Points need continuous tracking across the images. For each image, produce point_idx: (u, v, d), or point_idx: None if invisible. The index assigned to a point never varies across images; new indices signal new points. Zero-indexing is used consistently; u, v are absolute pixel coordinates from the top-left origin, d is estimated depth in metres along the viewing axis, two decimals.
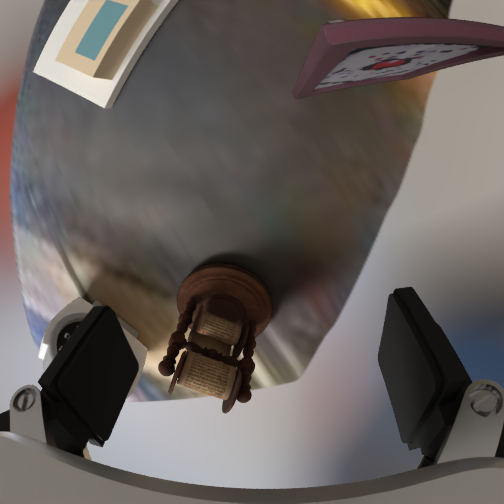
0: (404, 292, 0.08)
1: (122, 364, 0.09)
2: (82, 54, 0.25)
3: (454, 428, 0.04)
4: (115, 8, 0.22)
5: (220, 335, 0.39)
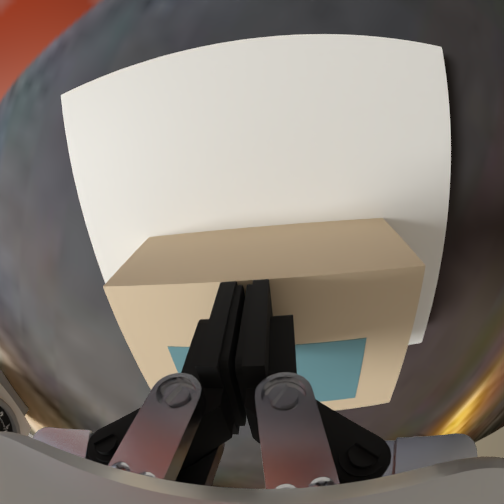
0: (256, 283, 0.09)
1: None
2: (180, 371, 0.12)
3: (262, 435, 0.05)
4: (341, 376, 0.12)
5: None
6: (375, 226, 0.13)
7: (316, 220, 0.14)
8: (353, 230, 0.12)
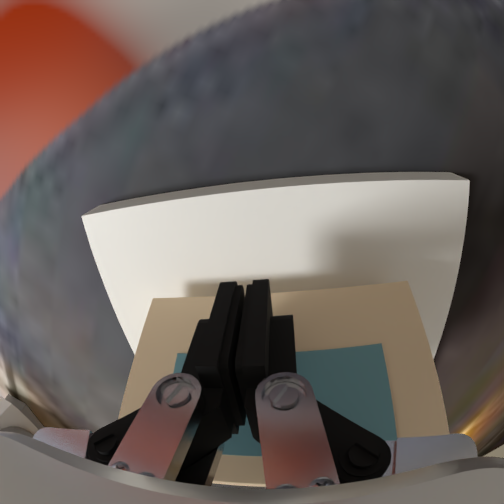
0: (256, 283, 0.09)
1: None
2: None
3: (262, 435, 0.05)
4: (368, 402, 0.08)
5: None
6: None
7: None
8: None
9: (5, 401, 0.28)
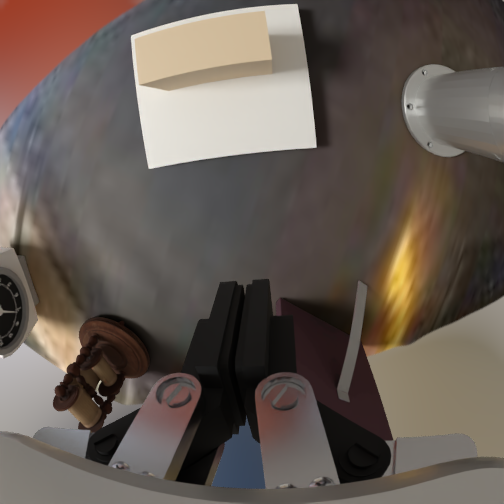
0: (256, 283, 0.09)
1: None
2: None
3: (262, 435, 0.05)
4: None
5: (101, 376, 0.42)
6: None
7: None
8: None
9: None
